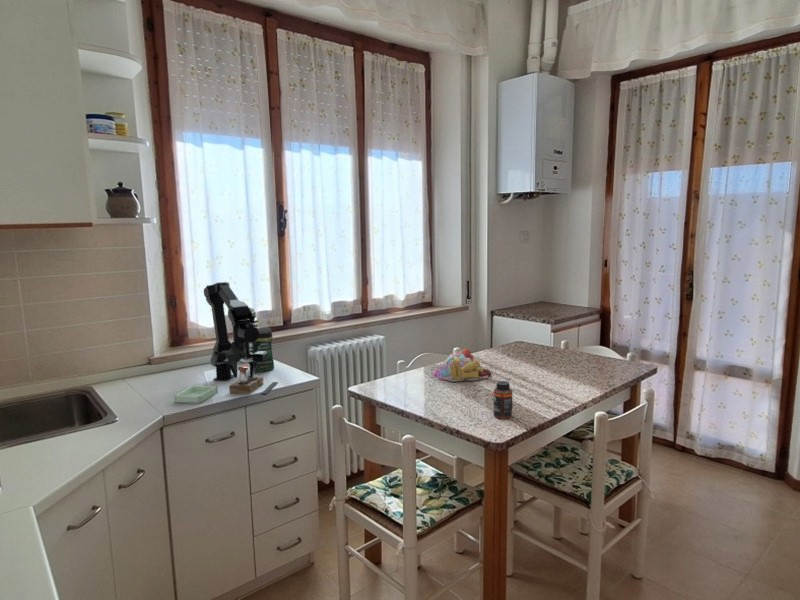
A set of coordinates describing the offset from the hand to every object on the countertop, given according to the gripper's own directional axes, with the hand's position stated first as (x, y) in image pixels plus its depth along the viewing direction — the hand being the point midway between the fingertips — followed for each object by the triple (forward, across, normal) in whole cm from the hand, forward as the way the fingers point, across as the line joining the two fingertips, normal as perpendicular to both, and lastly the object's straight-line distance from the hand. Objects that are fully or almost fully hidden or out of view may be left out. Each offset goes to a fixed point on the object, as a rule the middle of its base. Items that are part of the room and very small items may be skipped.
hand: (243, 377), depth 189 cm
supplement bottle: (+5, +97, -17) cm, 99 cm away
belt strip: (+5, +9, +3) cm, 11 cm away
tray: (+5, -14, -10) cm, 18 cm away
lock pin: (+5, 0, 0) cm, 5 cm away
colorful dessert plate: (+6, +82, +30) cm, 87 cm away
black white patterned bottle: (+5, -18, +44) cm, 48 cm away
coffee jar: (+5, -5, +28) cm, 29 cm away
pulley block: (+5, 0, +2) cm, 5 cm away
